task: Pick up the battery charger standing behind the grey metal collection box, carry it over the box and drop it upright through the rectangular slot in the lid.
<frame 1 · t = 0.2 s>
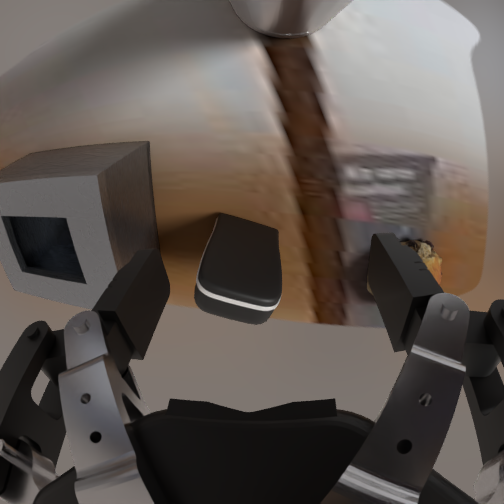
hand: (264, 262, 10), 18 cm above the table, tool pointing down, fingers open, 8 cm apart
collection box: (88, 202, 29), on the table
bread roll: (400, 267, 32), on the table
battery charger: (244, 233, 31), on the table
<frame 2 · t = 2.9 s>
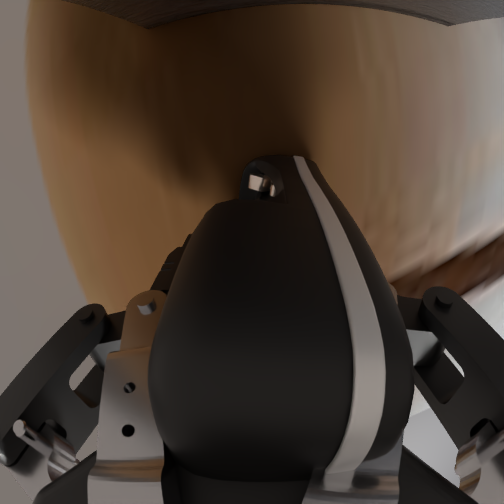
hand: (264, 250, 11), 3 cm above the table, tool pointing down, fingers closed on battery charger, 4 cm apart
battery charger: (263, 217, 14), on the table, touching gripper
when the fingers open (14 cm above the table, at t = 7.5 s): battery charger drops 10 cm, resting on collection box.
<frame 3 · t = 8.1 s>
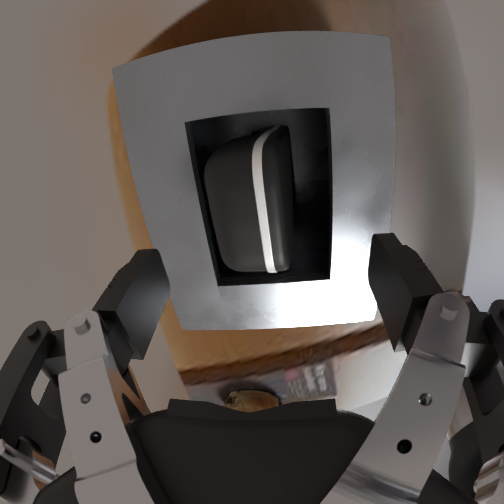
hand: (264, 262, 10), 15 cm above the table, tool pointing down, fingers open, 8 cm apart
collection box: (268, 162, 23), on the table
bread roll: (255, 400, 44), on the table
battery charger: (270, 164, 22), point 1 cm above the table, touching collection box
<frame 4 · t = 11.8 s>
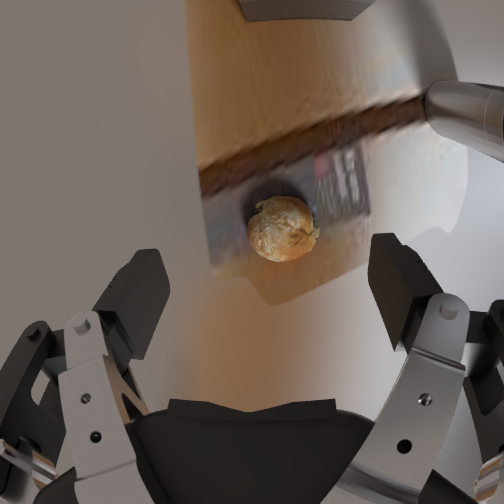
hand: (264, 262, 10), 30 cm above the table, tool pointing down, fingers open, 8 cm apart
bread roll: (283, 223, 43), on the table
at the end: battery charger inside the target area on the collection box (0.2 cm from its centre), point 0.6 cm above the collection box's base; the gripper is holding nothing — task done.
